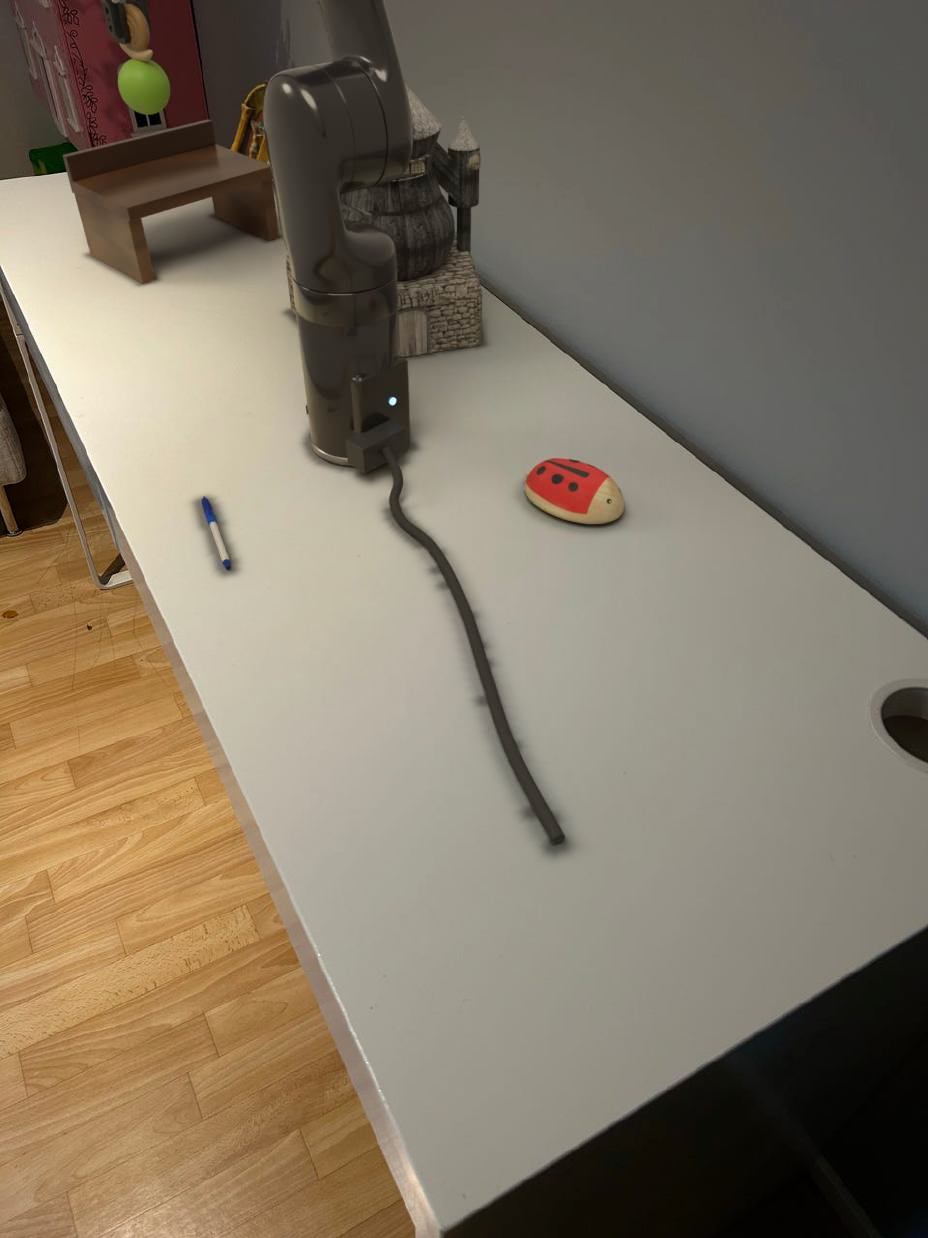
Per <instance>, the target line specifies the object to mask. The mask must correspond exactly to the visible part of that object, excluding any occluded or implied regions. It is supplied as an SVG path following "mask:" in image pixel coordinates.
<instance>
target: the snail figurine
mask: <svg viewBox="0 0 928 1238" xmlns="http://www.w3.org/2000/svg"><path fill="white" fill-rule="evenodd" d="M124 9H125V14H126V19H127V24H128V29H129V34H130V39H131V42H130V43H129V44H124V45H123V44H120V43H118V45H119V46H120V48H121V49H122V50H123V52H125V53H126V54H127V55H128V56H129V57H130V58H131V59H129V60H127V61H125V62H124V63H123V65H122V66H121V67H120V69H119V71H118V76H117V87H118V91H119V94H120V97H121V98H122V100H123V101H124V103H125V104H126V105H127V106H128V107H129V108H130V109H131V110H133V111H134V112H136V113H138V114H141V115H155V114H157V113H160V112H161V111H163V109H164V108H165V107H166V106H167V105H168V102H169V100H170V97H171V85H170V80H169V78H168V75H167V74H166V72H165V71H164V69H163V68H162V66H161V65H159V64H158V63H157V62H156V61H154V60H152V57H153V54H154V51H153V50H152V49H147V48H148V46H149V44H150V40H151V33H150V32H149V27H148V24H147V21H146V19H145V17H144V15H143V13H142V12H141V11H140V10H139V9H138V8H137V7H136V6H134V5H132V4H126V3H125V4H124Z"/></svg>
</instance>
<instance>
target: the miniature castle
mask: <svg viewBox="0 0 928 1238" xmlns="http://www.w3.org/2000/svg"><path fill="white" fill-rule="evenodd" d="M406 88H407V93H408V97H409V103H410V109H411V116H412V125H413V150H412V155H411V160H410V163H409V165H408V167H407V169H406V171H405V173H403V174H402V175H401V177H399V178H398V179H395V180H393V181H391V182H388V183H384V184H380V185H376V186H372V187H369V188H365V189H361V190H357V191H353V192H349V193H345V194H341V195H340V201H341V208H342V213H343V218H344V219H348V220H354V221H360V222H364V223H368V224H371V225H374V226H376V227H379V228H381V229H382V230H384V231H386V232H387V233H388V234H389V235H390V236H391V237H392V239H393V240H394V243H395V247H396V255H397V287H398V314H399V336H400V356H402V357H404V358H406V357H411V356H412V357H413V356H420V355H426V354H428V355H429V354H432V353H438V352H445V351H451V350H452V351H453V350H457V349H458V350H459V349H463V348H470V347H477V346H480V345H481V344H482V328H483V327H482V325H483V324H482V322H483V321H482V320H483V291H482V285H481V282H480V279H479V278H480V277H479V275H478V272H477V269H476V266H475V262H474V258H473V255H472V250H471V249H472V208H474V207H477V206H478V205H479V204H480V168H481V161H482V158H481V157H482V156H481V152H480V151H481V145H480V143H478V141H477V140H476V138H475V137H474V135H473V133H472V131H471V129H470V126H469V123H468V121H467V118H466V116H465V115H463V116H462V118H461V121H460V123H459V126H458V128H457V131H456V133H455V135H454V137H453V138H452V139H451V141H450V142H449V143H448V144H447V151H446V149H444V147H443V146H441V144H440V143H439V142H438V139H439V137H440V134H441V131H442V123H441V121H440V120H439V119H438V118H437V117H436V116H435V115H434V114H433V113H432V112H431V111H430V110H429V109H428V108H427V107H426V105H424V103H423V102H422V101H421V100H420V99H419V98H418V96H416V94H415V93H414V92H413V91H412V89H410V87H409V86H408V85H407V84H406ZM441 188H442V190H444V191H445V193H447V199H446V197H445V196H444V194H443V193H442V190H441ZM451 207H453V208H456V227H455V218H454V213H453V210H452V208H451ZM455 229H456V230H455ZM285 259H286V260H285V269H286V271H285V272H286V278H287V287H288V293H289V295H288V296H289V303H290V309H291V310H290V311H291V314H292V315H293V316H294V317H295V318H296V310H295V300H294V292H293V283H292V274H291V267H290V260H289V256H288V253H287V254H286V258H285Z"/></svg>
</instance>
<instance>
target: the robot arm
mask: <svg viewBox="0 0 928 1238" xmlns="http://www.w3.org/2000/svg"><path fill="white" fill-rule="evenodd" d="M99 1H100V2H101V4H102V10H103V14H104V18H105V24H106V29H107V33H108V34H109V35H110V38H113V40H114V41H115V42H116V43H118V44H119V43H120V44H123V45H124V44H129V43H130V42H131V39H130V34H129V29H128V24H127V19H126V14H125V9H124V5H126V4H132V5H134V6H136V7H137V8H138V9H139V10H140V11H141V12H142V13H143V15H144V17H145V19H146V21H147V24H148V27H149V32H150V34H151V33H152V23H151V18H150V12H149V8H148V1H147V0H125V4H124V2H122V1H121V0H99ZM315 2H316V5H317V8H318V11H319V14H320V15H321V16H320V17H321V19H322V22H323V26H324V29H325V33H326V35H327V39H328V44H329V47H330V53H331V56H332V61H328V62H323V63H316V64H311V65H305V66H300V67H294V68H289V69H285V70H281V71H279V72H277V73H275V74H274V75H273V76H272V77H271V78H270V79H271V80H270V81H269V83H268V85H267V88H266V91H265V95H264V102H263V123H264V134H265V140H266V147H267V153H268V158H269V159H268V163H269V165H270V169H271V174H272V183H273V191H274V198H275V204H276V210H277V217H278V221H279V228H280V232H281V236H282V239H283V242H284V246H285V249H286V252H287V254H288V256H289V260H290V267H291V274H292V283H293V292H294V300H295V310H296V317H295V318H296V326H297V333H298V343H299V349H300V350H299V351H300V358H301V359H300V360H301V366H302V367H301V368H302V374H303V375H302V376H303V381H304V382H303V384H304V389H305V390H304V392H305V401H306V405H305V413H306V416H308V422H309V430H310V433H309V439H310V446H311V449H312V450H313V452H314V453H315V454H316V455H317V456H318V457H319V458H322V459H323V460H325V461H327V462H329V463H332V464H337V465H341V466H349V467H351V466H352V467H353V468H355V469H357V470H358V471H360V472H361V473H363V474H367V473H369V472H371V471H373V470H375V469H377V468H378V467H380V466H382V465H384V464H385V463H386V465H387V466H388V468H389V470H390V472H391V475H392V481H393V485H392V488H391V491H390V493H389V496H388V497H389V498H388V505H389V508H390V509H389V510H390V512H391V515H392V517H393V519H394V520H395V522H396V524H398V526H399V527H400V528H402V530H403V531H405V532H406V533H407V534H409V535H410V536H411V537H412V538H414V539H415V540H417V541H418V542H419V543H421V544H422V545H423V546H424V547H425V548H426V549H427V550H428V552H429V554H430V555H431V556H432V558H433V560H434V561H435V563H436V564H437V566H438V568H439V570H440V572H441V573H442V576H443V577H444V579H445V581H446V583H447V586H448V587H449V590H450V593H451V594H452V597H453V599H454V602H455V604H456V607H457V609H458V611H459V614H460V617H461V619H462V623H463V625H464V627H465V631H466V634H467V638H468V641H469V645H470V648H471V652H472V656H473V659H474V663H475V665H476V668H477V672H478V675H479V678H480V680H481V684H482V688H483V691H484V694H485V697H486V701H487V704H488V707H489V711H490V714H491V717H492V720H493V723H494V726H495V729H496V732H497V735H498V737H499V740H500V743H501V745H502V747H503V750H504V753H505V756H506V757H507V759H508V762H509V764H510V766H511V768H512V770H513V772H514V774H515V776H516V779H517V780H518V783H519V785H520V786H521V788H522V790H523V792H524V793H525V795H526V797H527V799H528V801H529V803H530V804H531V805H530V806H532V808H533V810H534V811H535V814H536V815H537V817H538V819H539V821H540V823H541V825H542V827H543V829H544V830H545V832H546V834H547V836H548V837H549V839H550V841H551V843H552V844H553V845H555V844H559V843H561V842H563V841H564V840H565V837H566V836H565V834H564V832H563V830H562V828H561V826H560V824H559V823H558V821H557V819H556V817H555V815H554V814H553V811H552V810H551V808H550V806H549V805H548V802H547V801H546V800H545V797H544V796H543V794H542V792H541V790H540V789H539V786H538V785H537V784H536V781H535V780H534V778H533V776H532V774H531V772H530V770H529V768H528V766H527V765H526V762H525V760H524V758H523V756H522V754H521V751H520V749H519V747H518V745H517V742H516V740H515V738H514V735H513V733H512V729H511V728H510V725H509V722H508V719H507V717H506V713H505V711H504V708H503V704H502V701H501V697H500V694H499V691H498V688H497V685H496V682H495V679H494V675H493V673H492V669H491V666H490V664H489V661H488V657H487V654H486V650H485V647H484V645H483V641H482V637H481V635H480V631H479V628H478V625H477V622H476V619H475V616H474V614H473V611H472V609H471V606H470V604H469V601H468V599H467V596H466V594H465V592H464V589H463V588H462V585H461V584H460V581H459V579H458V577H457V575H456V573H455V571H454V569H453V567H452V565H451V564H450V562H449V561H448V559H447V557H446V555H445V554H444V552H443V551H442V549H441V548H440V546H439V545H438V544H437V543H436V541H435V540H434V539H433V538H432V537H431V536H430V535H428V533H426V532H424V531H423V530H422V529H421V528H419V527H418V526H416V525H415V524H414V523H412V522H411V521H409V519H408V518H407V517H406V516H405V513H403V510H402V507H401V503H400V496H401V493H402V490H403V487H404V475H403V471H402V468H401V465H400V464H399V461H398V460H397V457H398V456H400V455H402V454H404V453H406V452H407V451H408V448H411V446H412V437H411V436H412V435H411V414H410V413H411V409H410V408H411V406H410V405H411V404H410V383H409V382H410V381H409V361H408V359H407V358H406V357H402V356H400V336H399V314H398V287H397V255H396V247H395V243H394V240H393V239H392V237H391V236H390V235H389V234H388V233H387V232H386V231H384V230H382V229H381V228H379V227H376V226H374V225H371V224H368V223H364V222H360V221H354V220H348V219H344V218H343V213H342V208H341V201H340V195H341V194H345V193H349V192H353V191H357V190H361V189H365V188H369V187H372V186H376V185H380V184H384V183H388V182H391V181H393V180H395V179H398V178H399V177H401V175H402V174H403V173H405V171H406V169H407V167H408V165H409V163H410V160H411V155H412V150H413V125H412V116H411V109H410V103H409V97H408V93H407V88H406V85H407V83H406V80H405V75H404V71H403V67H402V63H401V59H400V55H399V51H398V48H397V44H396V38H395V36H394V32H393V28H392V24H391V21H390V17H389V13H388V9H387V5H386V1H385V0H315ZM120 44H119V45H120Z"/></svg>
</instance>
